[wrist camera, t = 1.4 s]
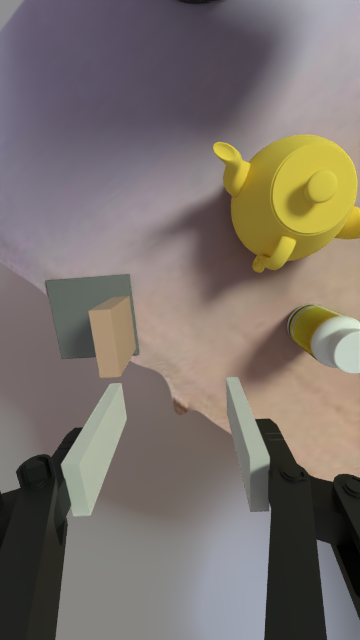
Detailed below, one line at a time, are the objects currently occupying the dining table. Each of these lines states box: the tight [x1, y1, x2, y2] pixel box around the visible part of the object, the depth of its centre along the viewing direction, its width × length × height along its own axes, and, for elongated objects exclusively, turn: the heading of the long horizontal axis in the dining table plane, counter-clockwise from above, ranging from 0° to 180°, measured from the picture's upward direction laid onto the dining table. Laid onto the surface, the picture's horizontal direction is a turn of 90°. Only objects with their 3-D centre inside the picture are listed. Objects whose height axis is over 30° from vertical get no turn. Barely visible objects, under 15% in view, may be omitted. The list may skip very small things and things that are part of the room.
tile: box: [88, 296, 136, 378], centre depth 33 cm, size 8×3×9 cm, turn 4°
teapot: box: [213, 135, 360, 273], centre depth 27 cm, size 20×15×12 cm
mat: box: [46, 274, 139, 359], centre depth 37 cm, size 12×12×1 cm
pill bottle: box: [287, 304, 360, 373], centre depth 31 cm, size 6×6×11 cm
